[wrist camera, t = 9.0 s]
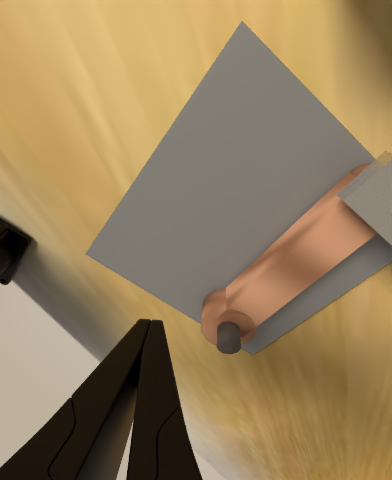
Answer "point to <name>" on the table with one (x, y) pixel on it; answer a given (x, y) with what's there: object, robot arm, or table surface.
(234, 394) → the table surface
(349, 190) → the keeper
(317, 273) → the link
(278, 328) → the board
